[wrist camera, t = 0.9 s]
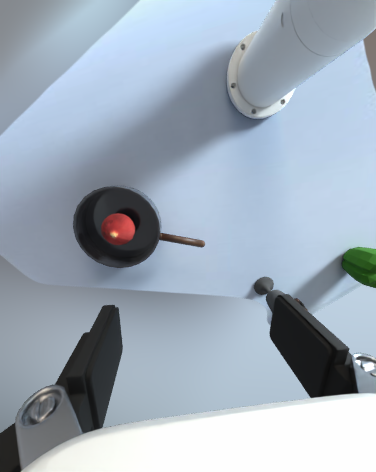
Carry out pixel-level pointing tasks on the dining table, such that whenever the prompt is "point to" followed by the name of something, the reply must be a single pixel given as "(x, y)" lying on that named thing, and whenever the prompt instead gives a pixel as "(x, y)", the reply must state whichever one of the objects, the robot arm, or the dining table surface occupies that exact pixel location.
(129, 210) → the pan
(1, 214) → the dining table surface
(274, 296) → the sundae
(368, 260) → the bell pepper
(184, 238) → the pan handle
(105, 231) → the onion
